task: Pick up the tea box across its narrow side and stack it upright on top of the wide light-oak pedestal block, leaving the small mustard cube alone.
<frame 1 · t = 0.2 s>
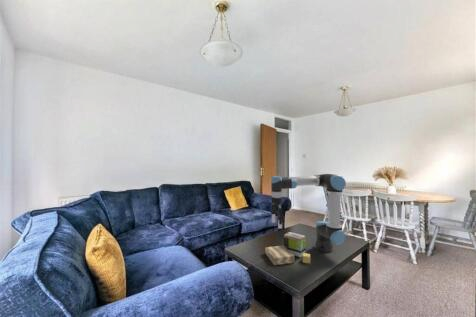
hand: (276, 225, 154), 28 cm above the table, fingers open, 13 cm apart
mustard cube: (306, 261, 155), on the table
oak pedestal: (279, 257, 161), on the table
tea box: (294, 253, 169), on the table
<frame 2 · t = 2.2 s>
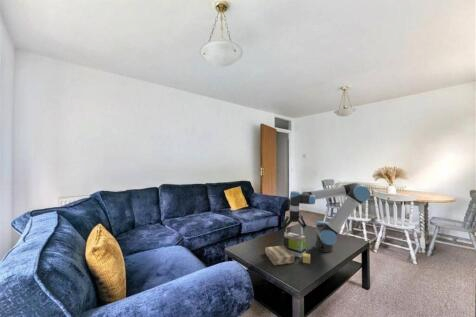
hand: (293, 236, 169), 14 cm above the table, fingers open, 14 cm apart
tea box: (294, 253, 169), on the table, touching gripper, oak pedestal
everything else where it was.
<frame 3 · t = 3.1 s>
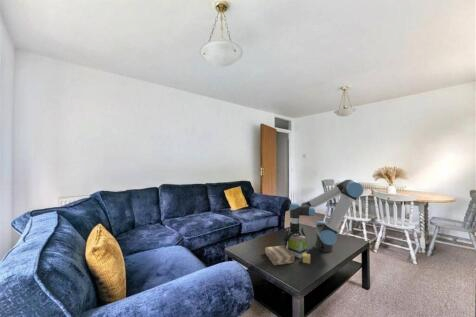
hand: (294, 248, 169), 4 cm above the table, fingers open, 13 cm apart
tea box: (295, 253, 168), on the table, touching gripper
everything else where it was.
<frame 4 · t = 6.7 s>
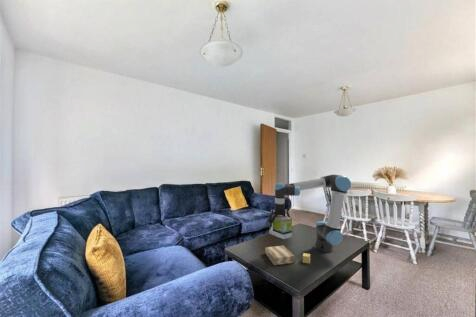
hand: (279, 230, 161), 21 cm above the table, fingers closed on tea box, 12 cm apart
tea box: (280, 235, 161), point 17 cm above the table, touching gripper
everything else where it was.
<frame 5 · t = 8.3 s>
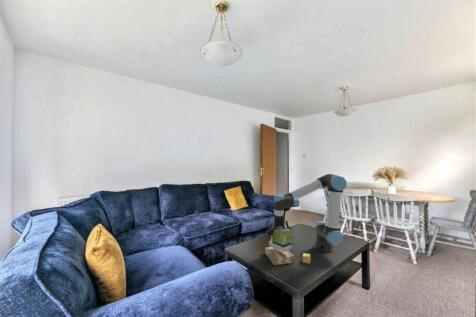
hand: (279, 242, 161), 12 cm above the table, fingers closed on tea box, 12 cm apart
tea box: (279, 247, 160), point 8 cm above the table, touching gripper
everything else where it was.
when the fingers open (10 cm above the table, at t = 9.8 s): tea box drops 1 cm, resting on oak pedestal.
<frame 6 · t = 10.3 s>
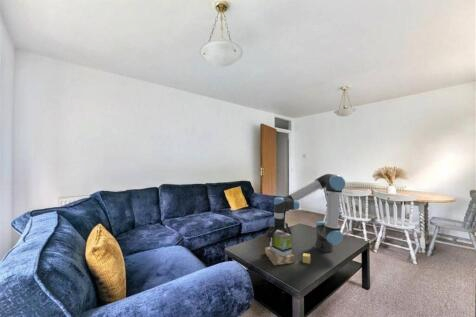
hand: (279, 244, 161), 10 cm above the table, fingers open, 13 cm apart
tea box: (280, 252, 160), point 5 cm above the table, touching oak pedestal
everything else where it was.
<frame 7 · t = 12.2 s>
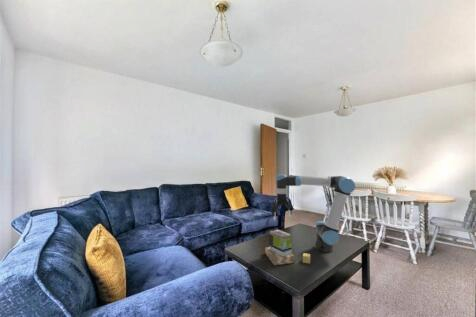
hand: (282, 219, 168), 28 cm above the table, fingers open, 13 cm apart
nothing on the table moved.
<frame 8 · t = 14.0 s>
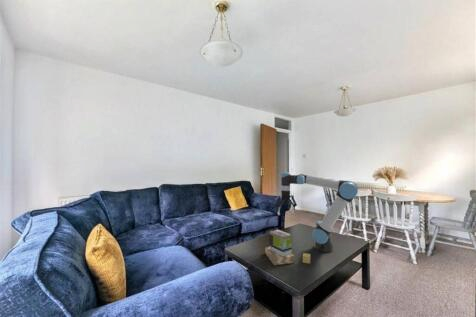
hand: (285, 214, 180), 29 cm above the table, fingers open, 13 cm apart
nothing on the table moved.
at the end: tea box inside the target area on the oak pedestal (1.0 cm from its centre), point 4.8 cm above the oak pedestal's base; tea box tilted 0°; the gripper is holding nothing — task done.
